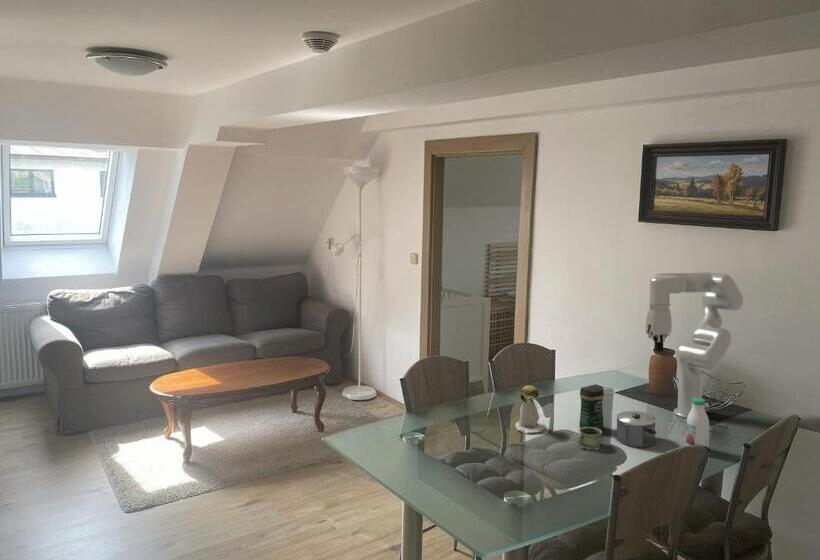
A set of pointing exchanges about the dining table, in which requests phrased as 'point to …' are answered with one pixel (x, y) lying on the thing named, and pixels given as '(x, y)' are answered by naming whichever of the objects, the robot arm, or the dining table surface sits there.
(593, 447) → the vessel
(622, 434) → the pot
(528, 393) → the white figurine
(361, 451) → the dining table surface
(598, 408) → the coffee jar
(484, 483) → the dining table surface
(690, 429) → the milk bottle
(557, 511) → the dining table surface
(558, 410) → the dining table surface
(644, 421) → the lid
